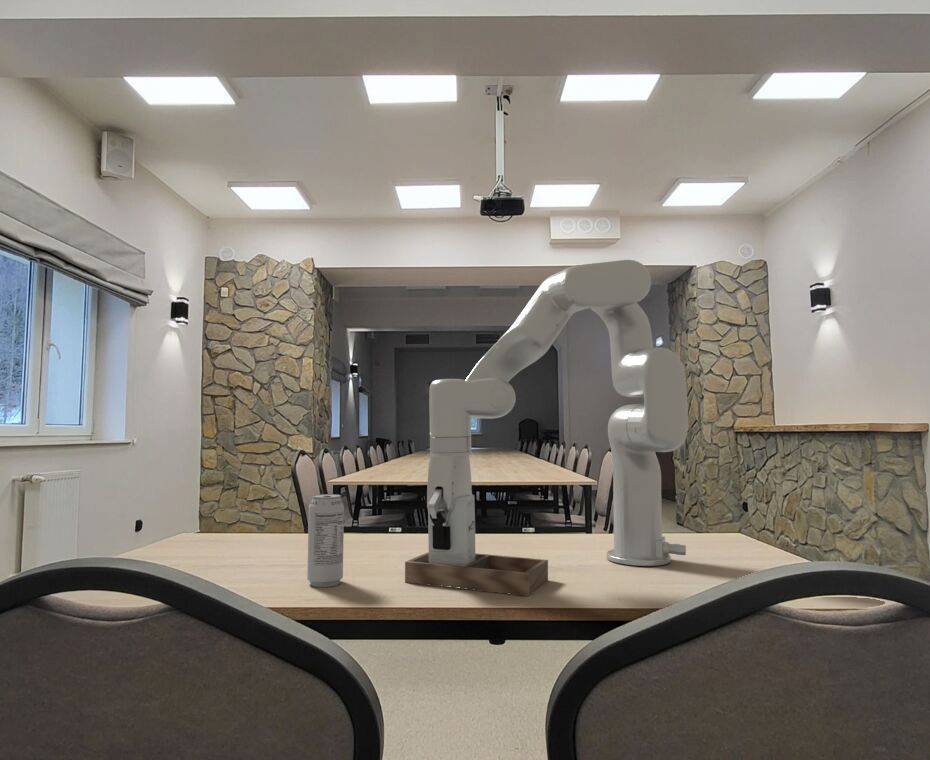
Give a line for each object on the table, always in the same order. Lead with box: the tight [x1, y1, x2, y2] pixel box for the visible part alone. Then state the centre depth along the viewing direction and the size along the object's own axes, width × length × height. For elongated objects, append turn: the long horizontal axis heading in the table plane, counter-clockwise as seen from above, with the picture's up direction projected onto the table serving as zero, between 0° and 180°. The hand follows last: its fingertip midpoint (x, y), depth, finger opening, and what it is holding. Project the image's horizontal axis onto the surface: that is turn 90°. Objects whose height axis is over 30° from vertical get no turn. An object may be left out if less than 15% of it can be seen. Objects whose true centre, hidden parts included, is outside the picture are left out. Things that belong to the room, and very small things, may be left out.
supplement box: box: [427, 494, 476, 566], centre depth 112 cm, size 7×7×13 cm
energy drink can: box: [306, 493, 345, 588], centre depth 108 cm, size 6×6×15 cm
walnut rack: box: [404, 551, 549, 597], centre depth 109 cm, size 22×12×4 cm, turn 66°
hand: (452, 544), depth 112 cm, fingers closed on supplement box, 8 cm apart
